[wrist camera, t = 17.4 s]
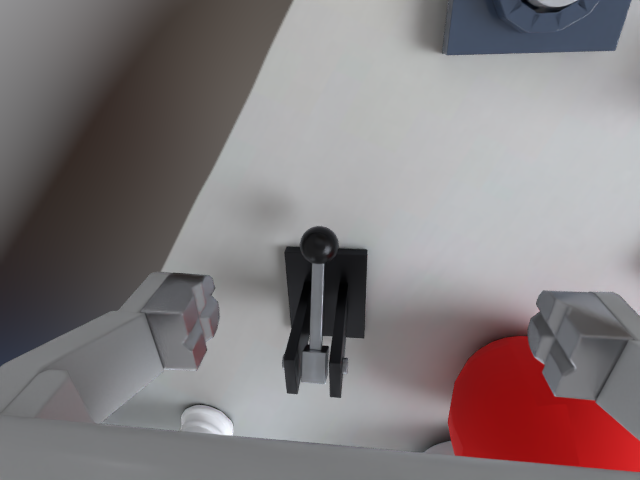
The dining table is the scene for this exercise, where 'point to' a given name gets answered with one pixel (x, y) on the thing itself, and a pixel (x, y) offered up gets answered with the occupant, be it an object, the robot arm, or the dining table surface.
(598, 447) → the vase
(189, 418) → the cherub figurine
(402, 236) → the dining table surface
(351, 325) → the lever bracket
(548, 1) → the white push button
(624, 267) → the dining table surface
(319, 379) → the lever handle
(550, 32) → the grey button base
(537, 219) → the dining table surface
